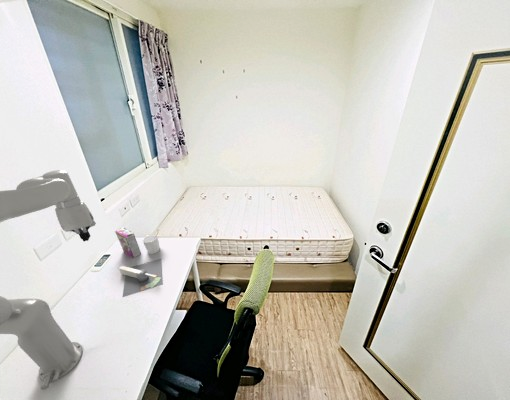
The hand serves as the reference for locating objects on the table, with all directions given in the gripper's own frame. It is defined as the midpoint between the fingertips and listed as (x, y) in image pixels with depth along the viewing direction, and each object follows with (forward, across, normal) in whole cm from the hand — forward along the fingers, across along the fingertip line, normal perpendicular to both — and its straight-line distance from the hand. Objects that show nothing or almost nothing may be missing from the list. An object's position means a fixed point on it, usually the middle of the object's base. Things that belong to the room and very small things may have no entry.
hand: (86, 239), depth 95 cm
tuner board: (+31, +15, +1) cm, 35 cm away
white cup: (+31, +20, +21) cm, 43 cm away
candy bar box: (+31, +8, +24) cm, 40 cm away
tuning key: (+30, +13, 0) cm, 32 cm away
